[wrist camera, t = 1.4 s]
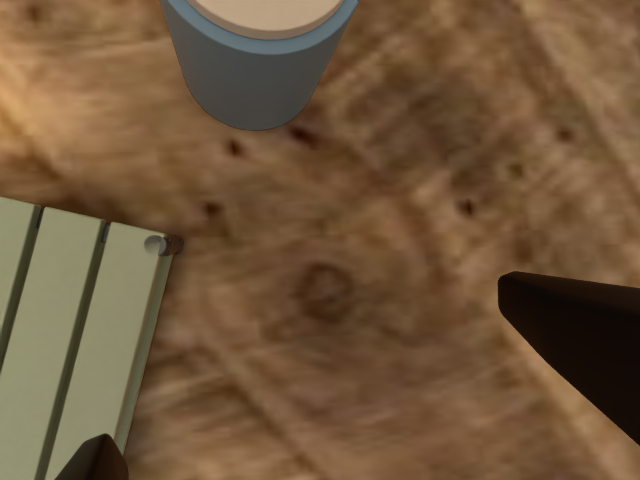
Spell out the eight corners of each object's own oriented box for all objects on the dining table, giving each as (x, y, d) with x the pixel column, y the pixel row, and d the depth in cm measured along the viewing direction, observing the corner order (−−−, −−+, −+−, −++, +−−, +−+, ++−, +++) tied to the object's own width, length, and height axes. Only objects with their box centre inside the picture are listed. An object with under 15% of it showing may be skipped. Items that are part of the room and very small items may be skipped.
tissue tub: (329, 22, 21) (401, -148, 12) (300, 146, 21) (351, 69, 11) (199, -23, 20) (167, -253, 11) (166, 108, 19) (102, -13, 10)
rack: (185, 236, 19) (170, 234, 15) (117, 512, 19) (81, 594, 14) (-23, 189, 18) (-109, 171, 13) (-106, 490, 17) (-226, 577, 13)
